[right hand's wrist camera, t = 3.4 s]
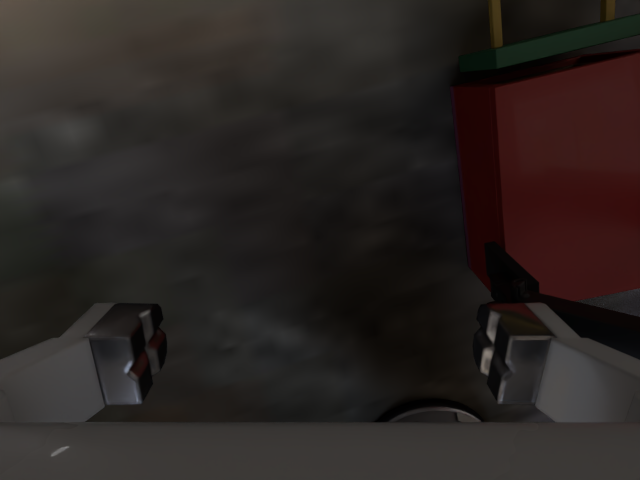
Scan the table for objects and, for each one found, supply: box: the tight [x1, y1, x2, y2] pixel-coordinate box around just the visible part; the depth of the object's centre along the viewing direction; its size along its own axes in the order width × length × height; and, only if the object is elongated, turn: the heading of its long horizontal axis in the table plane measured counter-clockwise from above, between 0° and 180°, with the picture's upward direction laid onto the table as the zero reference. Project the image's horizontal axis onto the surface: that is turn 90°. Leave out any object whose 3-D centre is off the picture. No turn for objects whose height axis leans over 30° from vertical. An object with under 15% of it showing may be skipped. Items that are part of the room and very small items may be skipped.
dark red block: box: [450, 49, 640, 301], centre depth 32 cm, size 17×11×9 cm, turn 13°
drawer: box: [459, 0, 640, 84], centre depth 30 cm, size 22×10×7 cm, turn 13°
